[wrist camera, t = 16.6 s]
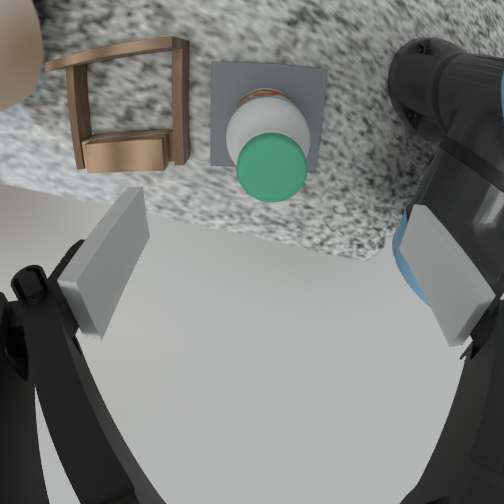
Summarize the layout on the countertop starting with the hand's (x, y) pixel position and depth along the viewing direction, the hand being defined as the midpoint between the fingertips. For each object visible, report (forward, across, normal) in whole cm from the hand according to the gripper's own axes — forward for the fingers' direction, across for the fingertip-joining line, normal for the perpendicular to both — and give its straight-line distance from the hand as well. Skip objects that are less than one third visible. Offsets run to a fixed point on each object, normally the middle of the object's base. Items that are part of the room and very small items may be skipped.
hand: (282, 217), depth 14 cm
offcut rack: (+27, +18, -2) cm, 32 cm away
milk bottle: (+26, 0, 0) cm, 26 cm away
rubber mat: (+27, 0, 0) cm, 27 cm away
